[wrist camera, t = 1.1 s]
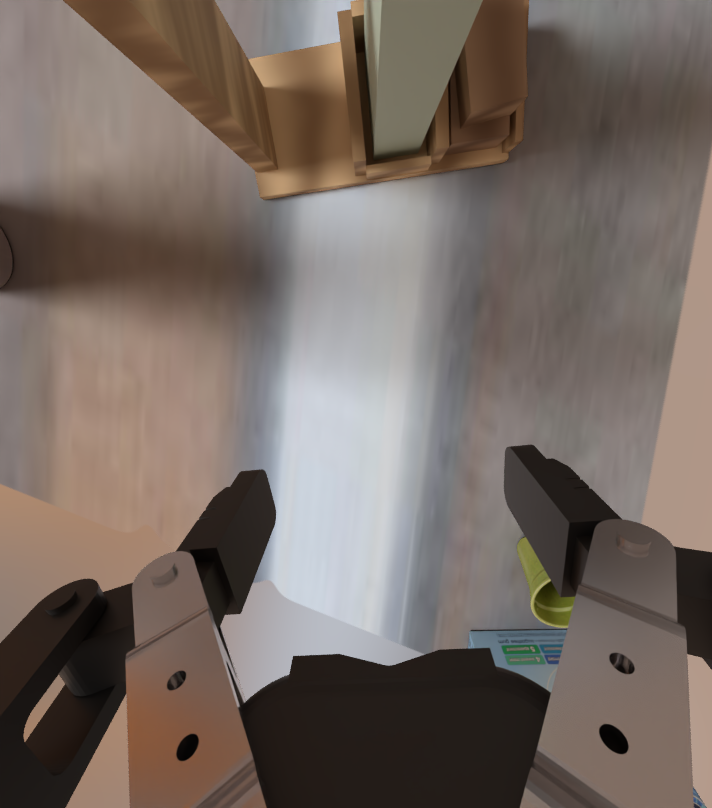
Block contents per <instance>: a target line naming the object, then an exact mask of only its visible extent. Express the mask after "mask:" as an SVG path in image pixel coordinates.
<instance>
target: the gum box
mask: <svg viewBox="0 0 712 808" xmlns="http://www.w3.org/2000/svg"><path fill="white" fill-rule="evenodd" d="M566 632H567V630H514V631H470V633H469V645H468V649H469V648H490V650H491V653H492V656H493V659H494V663H495V666H497V667H501V668H505V669H508V670H510V671H513V672H516V673H518V674H520V675H522V676H524V677H526V678H529V679H531V680H532V681H534V682H536V683H537V684H539V685H540V686H542V687H544V688H545V689H547V690H548V691H549V692H552V688H553V684H554V680H555V676H556V672H557V668H558V664H559V660H560V656H561V652H562V648H563V644H564V640H565V636H566ZM693 801H694V808H707V807H706V806H705V804H704V803H703V801H702V800H701V798H700V797H699V795H698V793H697V792H696V790H695V789H694V788H693Z"/></svg>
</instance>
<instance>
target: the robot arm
mask: <svg viewBox="0 0 712 808" xmlns="http://www.w3.org/2000/svg"><path fill="white" fill-rule="evenodd" d="M12 260H13V259H12V254H11V249H10V246H9V243H8V241H7V238H6V237H5V235H4V233H3V231H2V230H1V228H0V288H1V287H2V286H3V285H5V284H6V283H7V281H8V279H9V278H10V275H11V272H12ZM504 493H505V499H506V502H507V505H508V507H509V509H510V511H511V512H512V514H513V516H514V518H515V519H516V521H517V523H518V525H519V526H520V528H521V530H522V531H523V533H524V535H525V537H526V538H527V540H528V542H529V544H530V545H531V547H532V549H533V550H534V552H535V554H536V556H537V557H538V559H539V561H540V563H541V564H542V566H543V568H544V570H545V571H546V573H547V575H548V576H549V578H550V580H551V582H552V583H553V585H554V587H555V589H556V590H557V592H558V594H559V595H560V597H575V600H574V604H573V608H572V612H571V616H570V620H569V624H568V628H567V632H566V636H565V640H564V644H563V648H562V652H561V656H560V660H559V664H558V668H557V672H556V676H555V680H554V684H553V688H552V692H549V691H548V690H547V689H545V688H544V687H542V686H540V685H539V684H537V683H536V682H534V681H532V680H531V679H529V678H526V677H524V676H522V675H520V674H518V673H516V672H513V671H510V670H508V669H505V668H501V667H497V666H495V663H494V659H493V656H492V653H491V650H490V648H469V649H446V650H438V651H435V652H432V653H429V654H426V655H423V656H420V657H417V658H414V659H411V660H408V661H405V662H402V663H399V664H396V665H392V666H386V665H381V664H377V663H373V662H369V661H365V660H361V659H357V658H353V657H349V656H345V655H341V654H333V655H309V656H293V660H292V665H291V669H290V674H289V675H287V676H284V677H282V678H280V679H278V680H276V681H274V682H272V683H270V684H268V685H267V686H265V687H264V688H262V689H261V690H260V691H258V692H257V693H255V694H254V695H253V696H252V697H250V698H249V699H248V700H247V701H246V699H245V696H244V694H243V691H242V688H241V685H240V682H239V679H238V676H237V673H236V670H235V667H234V664H233V661H232V658H231V655H230V652H229V649H228V646H227V643H226V640H225V637H224V634H223V631H222V629H221V626H220V625H221V623H222V620H223V618H224V615H228V614H229V615H230V614H240V613H241V612H242V609H243V606H244V604H245V601H246V599H247V596H248V593H249V591H250V588H251V585H252V583H253V580H254V578H255V575H256V572H257V570H258V567H259V565H260V562H261V559H262V557H263V554H264V551H265V549H266V546H267V544H268V541H269V538H270V536H271V533H272V531H273V528H274V525H275V520H276V509H275V504H274V500H273V497H272V493H271V489H270V485H269V482H268V478H267V475H266V472H265V471H264V470H262V469H261V470H251V471H241V472H240V473H239V474H238V476H237V477H236V479H235V480H234V482H233V483H232V485H231V486H230V487H226V488H225V489H223V490H222V491H221V492H220V493H218V494H217V495H216V496H215V497H213V499H212V500H211V502H210V503H209V505H208V506H207V507H206V511H204V512H203V513H202V515H201V516H200V517H199V520H197V522H196V523H195V525H194V526H193V528H192V529H191V530H190V532H189V533H188V535H187V536H186V538H185V539H184V540H183V542H182V543H181V545H180V546H179V548H178V549H177V550H176V552H172V553H168V554H166V555H163V556H161V557H159V558H157V559H155V560H154V561H152V562H151V563H150V564H148V565H147V566H146V567H144V568H143V569H142V570H141V572H140V573H139V574H138V575H137V577H136V578H135V580H134V582H133V583H131V584H127V585H124V586H121V587H118V588H115V589H112V590H109V591H105V592H102V590H101V589H100V587H99V585H98V583H97V582H96V581H95V580H93V579H82V580H78V581H74V582H72V583H69V584H67V585H65V586H63V587H61V588H59V589H57V590H56V591H54V592H53V593H51V594H49V595H48V596H47V597H45V598H44V599H43V600H42V601H40V602H39V603H38V604H37V605H36V606H35V607H34V608H33V609H32V610H31V611H30V612H29V613H28V615H27V616H26V617H25V618H24V619H23V620H22V621H21V622H20V623H19V624H18V625H17V626H16V627H15V628H14V629H13V630H12V631H11V632H10V634H9V635H8V636H7V637H6V638H5V639H4V640H3V641H2V642H1V643H0V808H65V807H66V806H67V804H68V802H69V800H70V798H71V796H72V794H73V792H74V791H75V789H76V787H77V785H78V783H79V781H80V779H81V777H82V775H83V774H84V772H85V770H86V768H87V766H88V764H89V762H90V761H91V759H92V757H93V755H94V753H95V751H96V749H97V747H98V746H99V744H100V742H101V740H102V738H103V736H104V734H105V732H106V731H107V729H108V727H109V725H110V723H111V721H112V719H113V717H114V715H115V713H116V712H117V710H118V708H119V706H120V704H121V702H122V700H123V699H124V697H125V695H127V729H128V762H129V793H130V794H129V796H130V808H694V801H693V779H692V755H691V732H690V709H689V687H688V665H687V654H690V655H694V656H698V657H702V658H703V659H704V660H705V662H706V663H707V664H708V666H709V667H710V668H711V669H712V552H706V551H699V550H692V549H685V548H679V547H674V546H673V545H672V544H671V543H670V541H669V540H668V539H667V538H666V537H664V536H663V535H662V534H660V533H659V532H657V531H655V530H654V529H652V528H649V527H648V526H645V525H643V524H640V523H637V522H633V521H629V520H622V519H621V518H620V517H619V516H618V515H617V514H616V513H615V512H614V511H613V510H612V509H611V508H610V507H609V506H608V505H607V504H606V503H605V502H604V501H603V500H602V499H601V498H600V497H599V496H598V495H597V494H596V493H595V492H594V491H593V490H592V489H589V486H588V485H587V484H586V483H585V482H584V481H583V480H580V477H579V476H578V475H577V474H576V473H575V472H574V471H573V470H572V469H571V468H570V467H568V466H567V465H565V464H563V463H561V462H559V461H557V460H555V459H546V458H545V457H544V456H543V455H542V454H541V453H540V452H539V451H538V449H537V448H536V447H535V446H534V445H522V446H511V447H507V448H506V450H505V469H504ZM58 674H59V675H60V677H61V678H62V680H63V681H64V682H65V685H64V687H63V688H62V690H61V691H60V693H59V694H58V696H57V697H56V699H55V700H54V701H53V703H52V704H51V706H50V707H49V709H48V710H47V711H46V713H45V714H44V716H43V717H42V719H41V720H40V722H39V723H38V724H37V726H36V727H35V729H34V730H33V732H32V733H31V734H30V736H29V737H28V739H27V741H26V742H24V738H23V734H24V728H25V724H26V721H27V719H28V717H29V715H30V713H31V711H32V710H33V709H34V707H35V706H36V704H37V703H38V702H39V700H40V699H41V697H42V696H43V695H44V693H45V692H46V691H47V689H48V688H49V686H50V685H51V684H52V682H53V681H54V680H55V678H56V677H57V676H58Z"/></svg>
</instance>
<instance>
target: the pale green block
mask: <svg viewBox="0 0 712 808" xmlns="http://www.w3.org/2000/svg"><path fill="white" fill-rule="evenodd" d="M482 1H483V0H364V42H365V69H366V80H367V91H368V103H369V114H370V125H371V136H372V147H373V158H374V160H379V159H385V158H392V157H398V156H404V155H410V154H417V153H418V152H419V150H420V147H421V145H422V142H423V140H424V138H425V135H426V133H427V131H428V128H429V126H430V124H431V121H432V119H433V117H434V114H435V112H436V109H437V107H438V105H439V102H440V100H441V98H442V95H443V93H444V91H445V88H446V86H447V84H448V81H449V79H450V76H451V74H452V72H453V69H454V67H455V65H456V62H457V60H458V58H459V55H460V53H461V51H462V48H463V46H464V44H465V41H466V39H467V36H468V34H469V32H470V29H471V27H472V25H473V22H474V20H475V18H476V15H477V13H478V11H479V8H480V6H481V3H482Z"/></svg>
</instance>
